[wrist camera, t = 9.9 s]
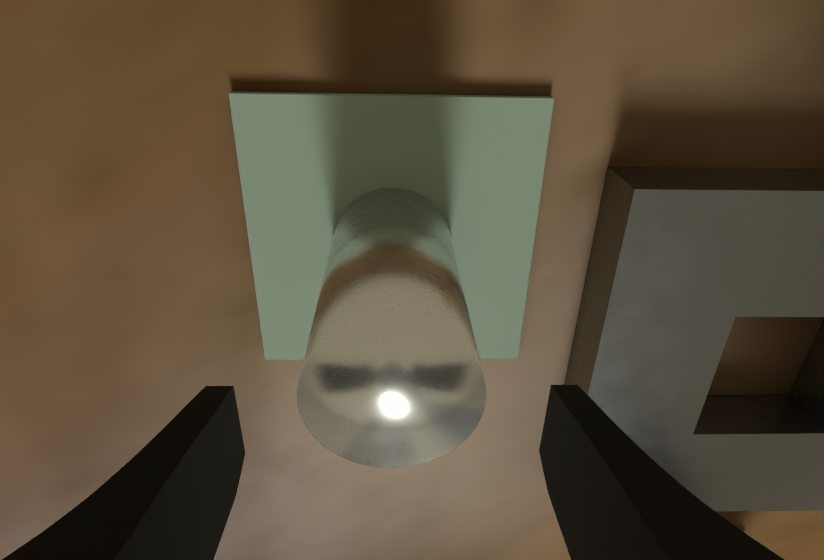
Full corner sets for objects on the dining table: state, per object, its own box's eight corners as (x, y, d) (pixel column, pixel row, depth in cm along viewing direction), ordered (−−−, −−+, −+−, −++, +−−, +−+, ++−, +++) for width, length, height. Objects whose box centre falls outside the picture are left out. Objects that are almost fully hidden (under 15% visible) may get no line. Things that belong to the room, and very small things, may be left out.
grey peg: (448, 293, 22) (479, 465, 14) (337, 294, 22) (305, 469, 14) (452, 187, 20) (493, 320, 12) (329, 188, 20) (287, 322, 12)
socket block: (848, 468, 28) (887, 509, 26) (547, 471, 27) (561, 513, 25) (1018, 171, 20) (1094, 193, 18) (607, 167, 20) (634, 189, 18)
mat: (515, 353, 24) (517, 358, 23) (267, 354, 23) (265, 359, 23) (551, 96, 19) (554, 98, 18) (231, 91, 18) (228, 93, 18)
